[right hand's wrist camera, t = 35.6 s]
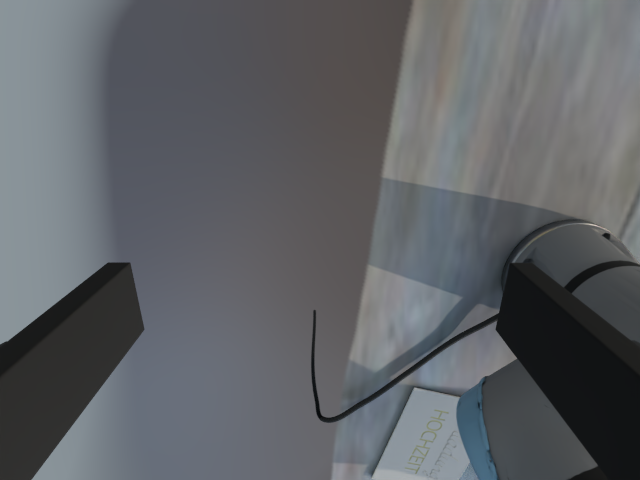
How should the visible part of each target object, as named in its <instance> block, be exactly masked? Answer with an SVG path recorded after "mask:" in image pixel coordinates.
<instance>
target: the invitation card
mask: <svg viewBox="0 0 640 480" xmlns="http://www.w3.org/2000/svg"><path fill="white" fill-rule="evenodd" d="M459 399H460V397H458V396H453V395H448V394H444V393H439V392H435V391H430V390H425V389H421V388H416V387H414V388H413V390H412V392H411V395H410V397H409V399H408V401H407V403H406V405H405V407H404V409H403V412H402V414H401V416H400V418H399V420H398V422H397V424H396V426H395V429H394V431H393V433H392V435H391V437H390V439H389V441H388V443H387V446H386V448H385V450H384V452H383V454H382V456H381V458H380V461H379V463H378V465H377V467H376V469H375V471H374V473H373V475H372V478H371V479H374V480H459V479H460V478H461V476H462V474H463V473H464V471H465V469H466V468H467V466H468V464H469V463H470V460H469V458H468V456H467V453H466V451H465V448H464V445H463V443H462V440H461V437H460V433H459V429H458V425H457V419H456V412H457V411H456V407H457V403H458V400H459Z"/></svg>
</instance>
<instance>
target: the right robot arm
mask: <svg viewBox="0 0 640 480" xmlns="http://www.w3.org/2000/svg"><path fill="white" fill-rule="evenodd" d="M502 289H503V297H502V302H501V307H500V311H499V313H498V314H496V315H495V316H493V317H491V318H489V319H487V320H485V321H483V322H482V323H480V324H478V325H476V326H474V327H472V328H470V329H468V330H466V331H464V332H462V333H460V334H459V335H457V336H455V337H453V338H452V339H450V340H449V341H447V342H446V343H444V344H443V345H441V346H440V347H438V348H437V349H435V350H434V351H433V352H431V353H430V354H429V355H427V356H426V357H424V358H423V359H422V360H420V361H419V362H418V363H416V364H415V365H414V366H412V367H411V368H409V369H408V370H407V371H405V372H404V373H402V374H401V375H399V376H398V377H397V378H395V379H394V380H393V381H391V382H390V383H388V384H387V385H386V386H384V387H383V388H381V389H380V390H379V391H377V392H376V393H374V394H373V395H371V396H369V397H368V398H366V399H364V400H363V401H361V402H359V403H357V404H356V405H354V406H353V407H351V408H350V409H348V410H347V411H345V412H343V413H342V414H340V415H338V416H335V417H332V418H326V417H323V416H322V415H321V412H320V405H319V399H318V394H317V388H316V380H315V334H316V310H314V311H313V334H312V350H311V376H312V386H313V394H314V399H315V407H316V414H317V416H318V418H319V419H320V420H321V421H323V422H327V423H331V422H336V421H339V420H341V419H343V418H345V417H346V416H348V415H349V414H351V413H353V412H354V411H356V410H357V409H359V408H360V407H362V406H364V405H366V404H367V403H369V402H371V401H372V400H374V399H376V398H377V397H379V396H380V395H382V394H383V393H385V392H386V391H387V390H389V389H390V388H392V387H393V386H394V385H396V384H397V383H398V382H400V381H401V380H403V379H404V378H405V377H407V376H408V375H410V374H411V373H413V372H414V371H416V370H417V369H418V368H420V367H421V366H422V365H424V364H425V363H427V362H428V361H429V360H431V359H432V358H433V357H435V356H436V355H437V354H439V353H440V352H442V351H443V350H445V349H446V348H448V347H449V346H451V345H452V344H454V343H456V342H457V341H459V340H461V339H462V338H464V337H466V336H468V335H470V334H472V333H474V332H476V331H478V330H480V329H482V328H484V327H486V326H488V325H490V324H491V323H493V322H495V321H497V320H498V321H497V325H496V331H497V332H498V333H499V335H500V336H501V337H502V339H503V340H504V341H505V343H506V344H507V345H508V347H509V348H510V349H511V351H512V352H513V353H514V355H515V356H516V357H517V359H516V360H515V361H513V362H511V363H510V364H508V365H506V366H505V367H503V368H501V369H500V370H498V371H496V372H495V373H493V374H491V375H490V376H485V377H483V378H482V379H481V381H480V382H479V383H478V384H477V385H476V386H474V387H473V388H471V389H470V390H468V391H467V392H466V393H464V394H463V395H462V396H461V397H460V399H459V400H458V403H457V407H456V411H457V412H456V419H457V425H458V429H459V433H460V437H461V440H462V443H463V445H464V448H465V451H466V453H467V456H468V458H469V460H470V462H471V465H472V467H473V469H474V471H475V473H476V475H477V477H478V479H479V480H640V264H639V263H638V261H637V260H636V259H635V258H634V257H633V255H632V254H631V253H630V252H629V250H628V249H627V248H626V247H625V246H624V244H623V243H622V242H621V241H620V240H619V239H618V238H617V237H616V236H615V235H614V234H613V233H611V232H610V231H608V230H606V229H605V228H603V227H600V226H598V225H596V224H594V223H591V222H588V221H583V220H564V221H558V222H554V223H551V224H548V225H546V226H544V227H541V228H539V229H538V230H536V231H534V232H533V233H531V234H530V235H528V236H527V237H526V238H525V239H523V240H522V241H521V242H520V243H519V244H518V245H517V247H516V248H515V249H514V250H513V252H512V253H511V255H510V256H509V258H508V260H507V262H506V264H505V267H504V271H503V275H502ZM143 331H144V325H143V321H142V316H141V311H140V307H139V302H138V297H137V293H136V288H135V283H134V278H133V274H132V269H131V264H130V263H107V264H106V265H104V266H103V267H102V268H101V269H99V270H98V271H97V272H95V273H94V274H93V275H92V276H90V277H89V278H88V279H87V280H85V281H84V282H83V283H82V284H80V285H79V286H78V287H76V288H75V289H74V290H73V291H71V292H70V293H69V294H68V295H66V296H65V297H64V298H62V299H61V300H60V301H59V302H57V303H56V304H55V305H53V306H52V307H51V308H50V309H48V310H47V311H46V312H45V313H43V314H42V315H41V316H39V317H38V318H37V319H36V320H34V321H33V322H32V323H31V324H29V325H28V326H27V327H26V328H24V329H23V330H22V331H20V332H19V333H18V334H17V335H15V336H14V337H13V338H11V339H10V340H9V341H8V342H4V343H2V344H0V480H31V479H32V478H33V477H34V475H35V474H36V473H37V472H38V470H39V469H40V468H41V466H42V465H43V463H44V462H45V461H46V460H47V458H48V457H49V456H50V454H51V453H52V452H53V450H54V449H55V448H56V446H57V445H58V444H59V442H60V441H61V440H62V438H63V437H64V436H65V434H66V433H67V432H68V430H69V429H70V428H71V426H72V425H73V424H74V422H75V421H76V420H77V418H78V417H79V416H80V414H81V413H82V412H83V410H84V409H85V408H86V406H87V405H88V404H89V402H90V401H91V400H92V398H93V397H94V396H95V394H96V393H97V392H98V390H99V389H100V388H101V386H102V385H103V384H104V383H105V381H106V380H107V379H108V377H109V376H110V375H111V373H112V372H113V371H114V369H115V368H116V367H117V365H118V364H119V363H120V361H121V360H122V359H123V357H124V356H125V355H126V353H127V352H128V351H129V349H130V348H131V347H132V345H133V344H134V343H135V341H136V340H137V339H138V337H139V336H140V335H141V333H142V332H143Z"/></svg>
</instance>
